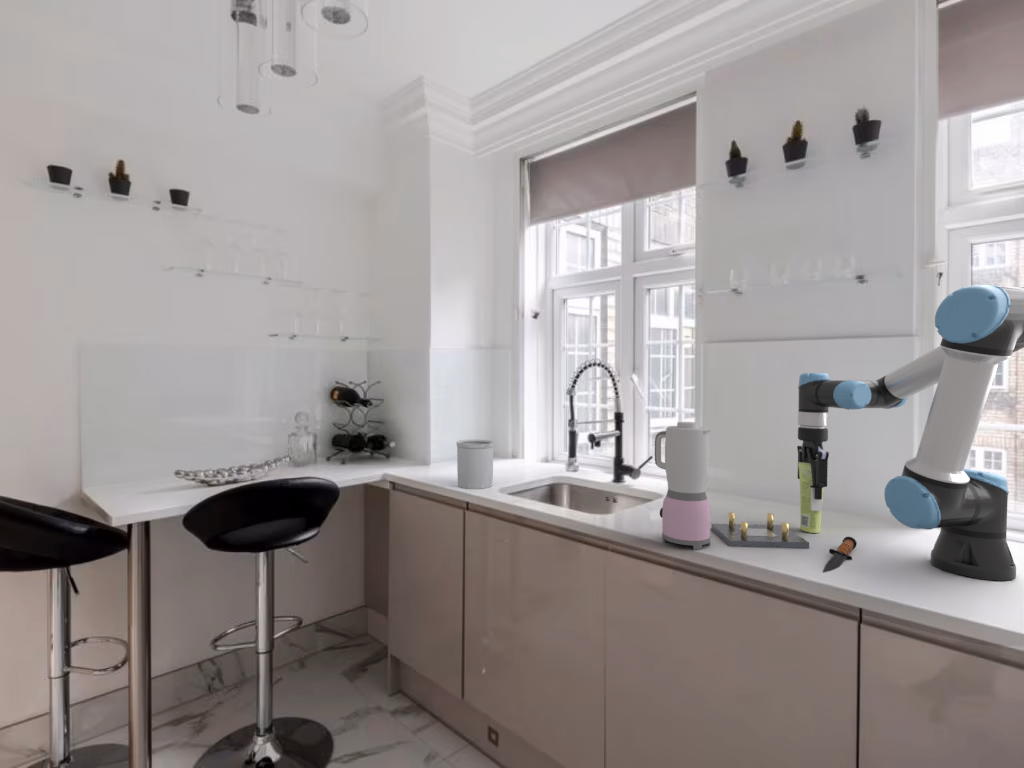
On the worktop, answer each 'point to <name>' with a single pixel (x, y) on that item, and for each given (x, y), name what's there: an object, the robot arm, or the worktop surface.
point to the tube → (808, 501)
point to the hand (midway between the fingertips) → (811, 507)
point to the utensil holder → (475, 463)
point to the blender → (685, 484)
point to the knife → (840, 554)
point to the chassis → (758, 534)
